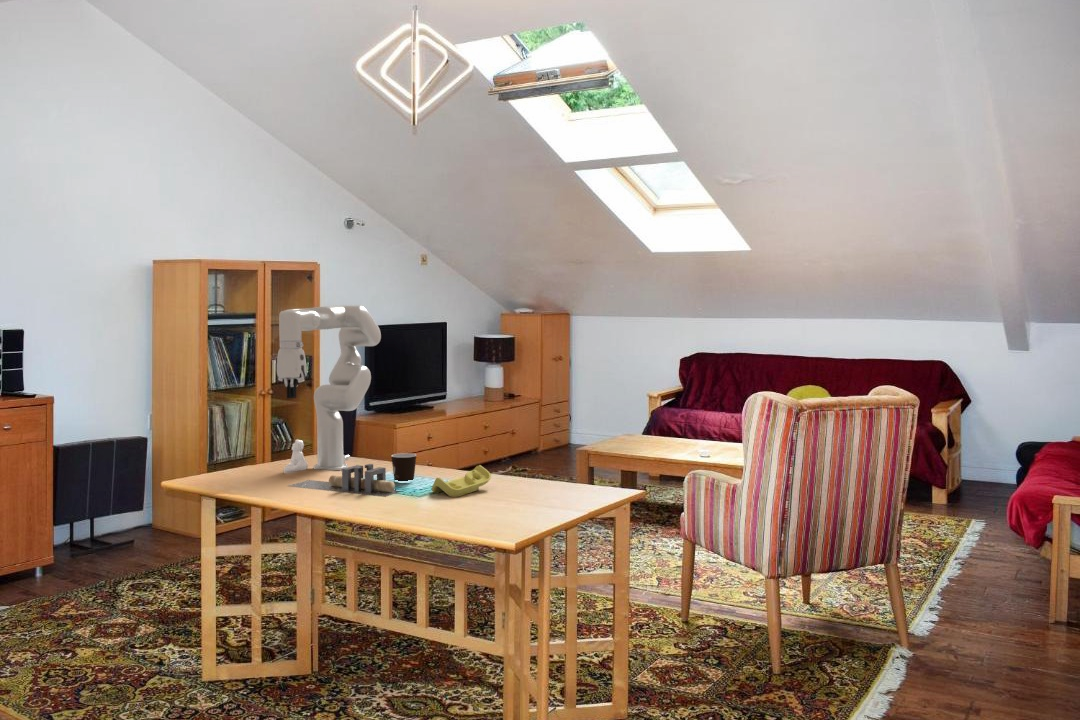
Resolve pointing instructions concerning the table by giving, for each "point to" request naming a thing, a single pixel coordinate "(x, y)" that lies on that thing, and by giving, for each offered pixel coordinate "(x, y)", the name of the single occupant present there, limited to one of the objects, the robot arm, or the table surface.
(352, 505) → the table surface
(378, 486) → the dowel
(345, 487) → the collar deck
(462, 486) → the plastic component
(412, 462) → the coffee mug
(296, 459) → the white creature statuette
